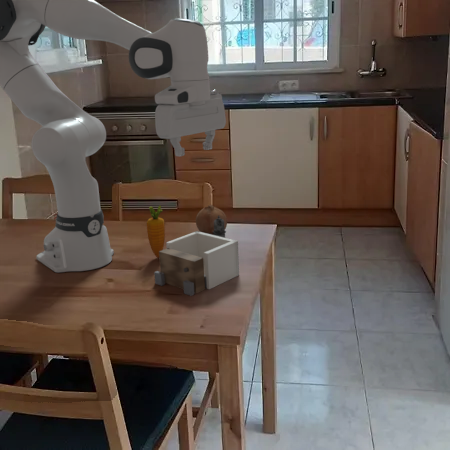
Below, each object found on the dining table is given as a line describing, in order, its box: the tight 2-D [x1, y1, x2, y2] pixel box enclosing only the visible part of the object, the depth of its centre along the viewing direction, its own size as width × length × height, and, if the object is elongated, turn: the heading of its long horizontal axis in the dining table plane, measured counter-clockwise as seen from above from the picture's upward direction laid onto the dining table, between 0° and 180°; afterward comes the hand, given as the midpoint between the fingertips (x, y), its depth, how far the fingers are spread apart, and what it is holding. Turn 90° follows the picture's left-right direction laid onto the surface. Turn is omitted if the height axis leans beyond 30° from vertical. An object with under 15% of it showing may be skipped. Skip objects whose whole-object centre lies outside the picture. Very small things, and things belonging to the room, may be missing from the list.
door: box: [158, 247, 206, 294], centre depth 140 cm, size 12×4×8 cm, turn 49°
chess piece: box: [213, 216, 227, 238], centre depth 157 cm, size 6×6×12 cm
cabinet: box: [153, 230, 240, 297], centre depth 144 cm, size 14×16×9 cm
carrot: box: [146, 205, 166, 259], centre depth 158 cm, size 5×5×15 cm
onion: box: [195, 203, 228, 235], centre depth 174 cm, size 10×9×10 cm
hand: (194, 152), depth 138 cm, fingers open, 8 cm apart
